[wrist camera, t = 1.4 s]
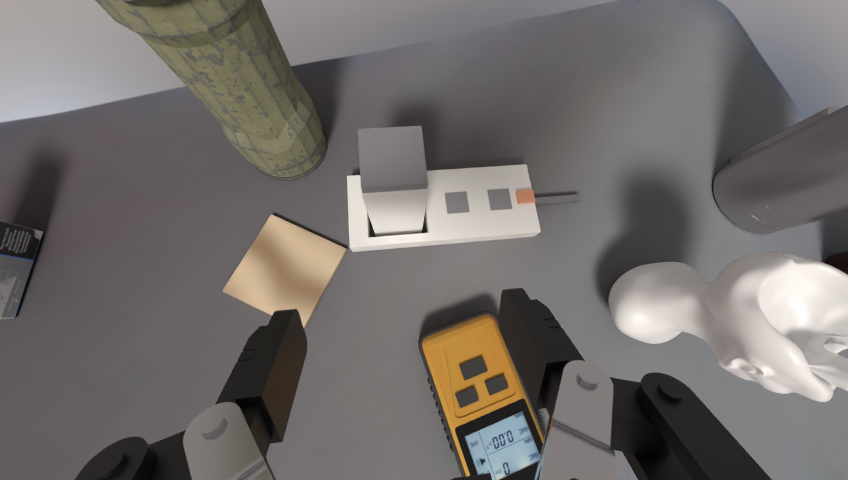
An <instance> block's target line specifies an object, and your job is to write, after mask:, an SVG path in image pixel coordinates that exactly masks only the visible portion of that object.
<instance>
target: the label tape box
mask: <svg viewBox="0 0 848 480" xmlns="http://www.w3.org/2000/svg"><path fill="white" fill-rule="evenodd" d="M42 234H43V231H39V230H35V229H32V228H28V227H24V226H21V225H16V224H13V223H9V222H5V221H1V220H0V319H13V318H15V317H16V313H17V310H18V307H19V304H20V301H21V298H22V295H23V291H24V288H25V285H26V283H27V279H28V276H29V273H30V270H31V267H32V264H33V261H34V258H35V255H36V252H37V249H38V246H39V243H40V240H41V237H42Z"/></svg>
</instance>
